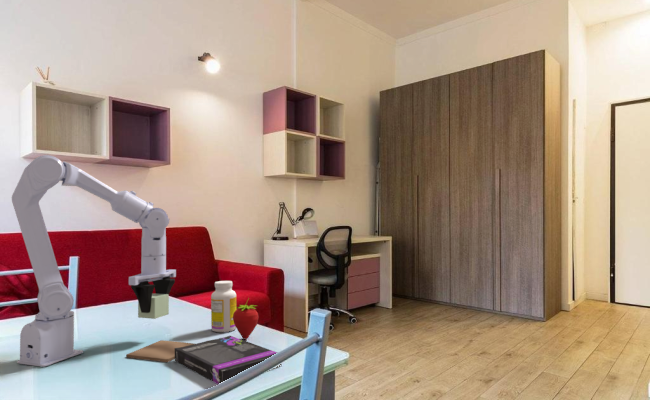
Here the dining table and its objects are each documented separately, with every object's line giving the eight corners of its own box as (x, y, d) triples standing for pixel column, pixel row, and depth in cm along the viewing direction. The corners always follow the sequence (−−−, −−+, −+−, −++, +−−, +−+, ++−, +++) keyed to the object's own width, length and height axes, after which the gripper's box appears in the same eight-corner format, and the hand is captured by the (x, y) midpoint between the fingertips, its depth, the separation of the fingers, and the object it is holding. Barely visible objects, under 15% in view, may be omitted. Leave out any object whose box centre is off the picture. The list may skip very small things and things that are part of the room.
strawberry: (248, 333, 108) (248, 294, 109) (263, 339, 103) (263, 299, 103) (228, 338, 105) (227, 297, 105) (242, 344, 99) (242, 302, 99)
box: (282, 371, 84) (230, 348, 98) (282, 353, 84) (231, 333, 98) (220, 390, 75) (173, 362, 89) (221, 370, 75) (173, 345, 89)
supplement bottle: (234, 325, 117) (234, 279, 117) (238, 331, 111) (238, 282, 111) (209, 328, 114) (209, 281, 115) (213, 334, 108) (212, 284, 109)
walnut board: (167, 362, 88) (167, 359, 88) (126, 357, 91) (126, 354, 91) (199, 346, 98) (199, 344, 98) (161, 342, 101) (161, 340, 101)
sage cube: (154, 318, 101) (154, 298, 101) (138, 317, 103) (138, 297, 103) (168, 314, 106) (168, 294, 106) (152, 312, 107) (152, 293, 108)
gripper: (145, 258, 97) (145, 317, 96) (185, 253, 110) (185, 304, 110) (121, 258, 99) (121, 315, 98) (163, 252, 113) (163, 303, 112)
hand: (153, 310), depth 104 cm, fingers closed on sage cube, 5 cm apart
